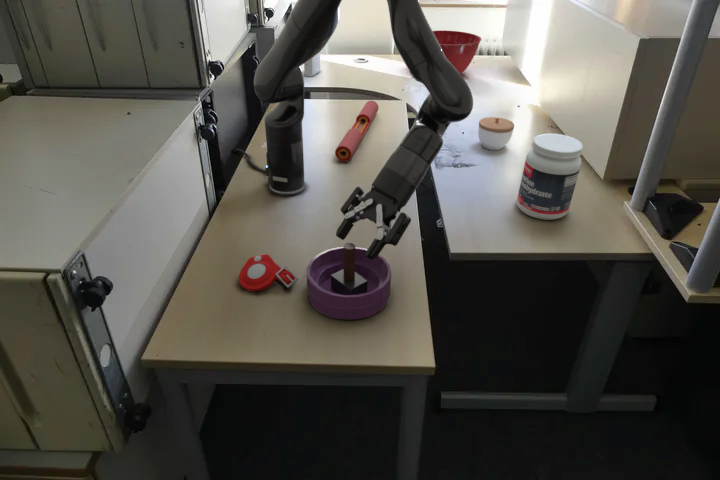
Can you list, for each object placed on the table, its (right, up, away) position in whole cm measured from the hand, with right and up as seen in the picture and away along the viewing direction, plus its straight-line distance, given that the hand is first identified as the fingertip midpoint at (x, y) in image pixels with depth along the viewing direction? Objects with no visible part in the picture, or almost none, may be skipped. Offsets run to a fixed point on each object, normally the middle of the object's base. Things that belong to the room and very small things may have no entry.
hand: (353, 247), depth 100 cm
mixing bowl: (+39, +76, +137) cm, 162 cm away
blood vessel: (+1, +36, +74) cm, 82 cm away
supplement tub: (+48, +9, +35) cm, 60 cm away
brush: (-1, -9, +5) cm, 10 cm away
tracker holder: (-18, -7, +8) cm, 21 cm away
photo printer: (-20, +74, +132) cm, 153 cm away
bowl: (-1, -9, +5) cm, 11 cm away
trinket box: (+44, +31, +69) cm, 87 cm away
